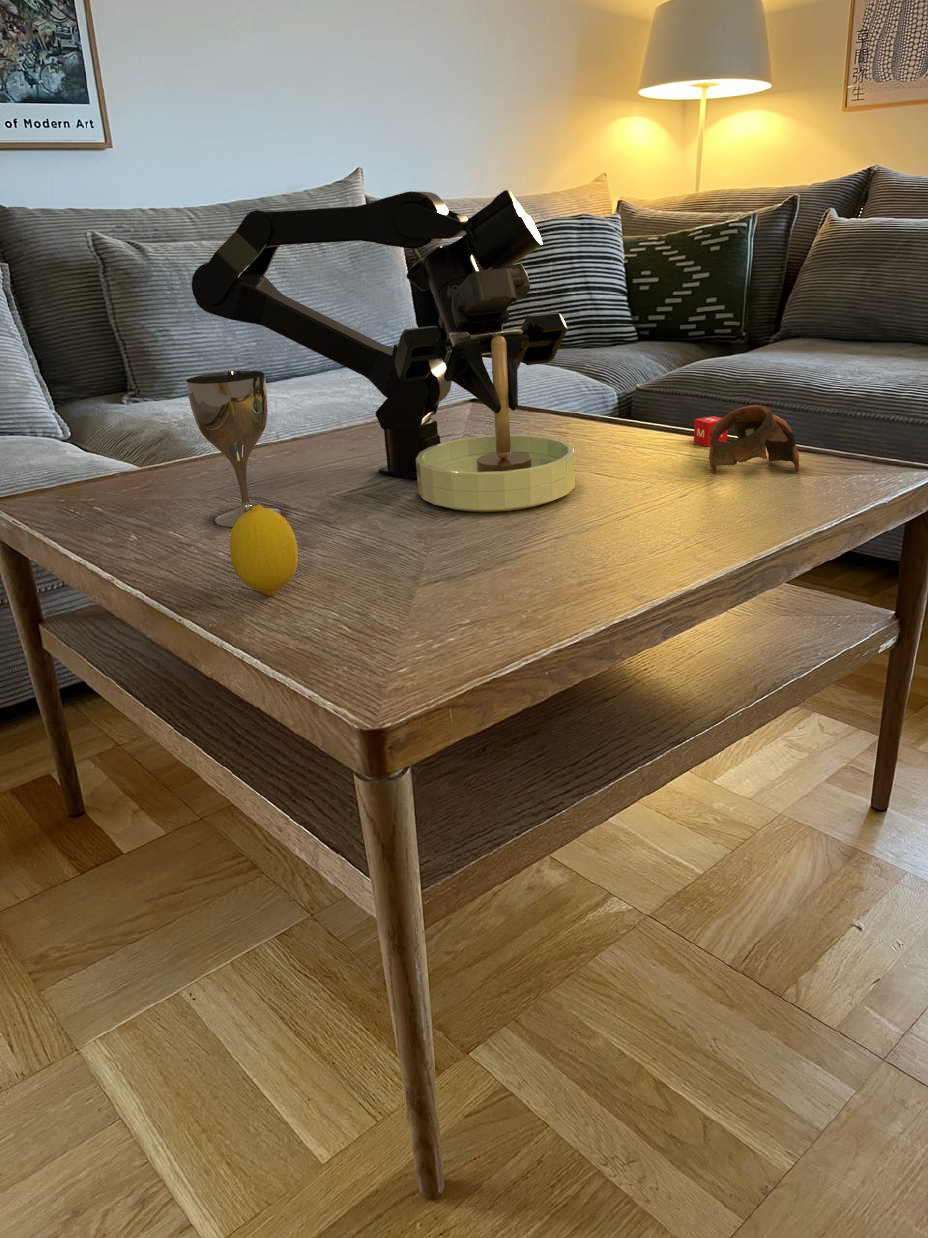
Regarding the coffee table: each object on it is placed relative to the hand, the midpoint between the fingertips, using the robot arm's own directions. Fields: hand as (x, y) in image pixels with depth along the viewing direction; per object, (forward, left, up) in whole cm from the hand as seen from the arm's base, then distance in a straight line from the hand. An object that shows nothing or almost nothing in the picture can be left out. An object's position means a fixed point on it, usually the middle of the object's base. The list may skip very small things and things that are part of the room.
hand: (506, 409), depth 97 cm
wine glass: (-20, -20, -10) cm, 30 cm away
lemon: (+1, -33, -10) cm, 35 cm away
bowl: (-2, +1, -10) cm, 10 cm away
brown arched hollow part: (+18, +23, -10) cm, 30 cm away
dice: (+8, +32, -10) cm, 34 cm away
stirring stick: (-1, +1, -8) cm, 8 cm away
